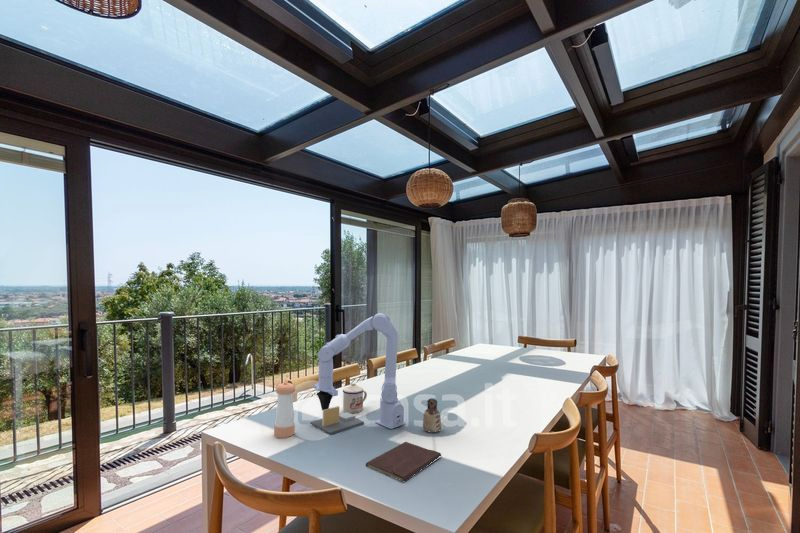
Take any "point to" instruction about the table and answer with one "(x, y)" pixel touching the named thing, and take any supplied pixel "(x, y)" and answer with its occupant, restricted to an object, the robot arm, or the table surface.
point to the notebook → (403, 460)
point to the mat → (337, 425)
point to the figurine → (431, 417)
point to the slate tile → (346, 416)
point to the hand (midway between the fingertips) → (325, 410)
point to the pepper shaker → (284, 411)
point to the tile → (330, 416)
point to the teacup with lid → (353, 398)
